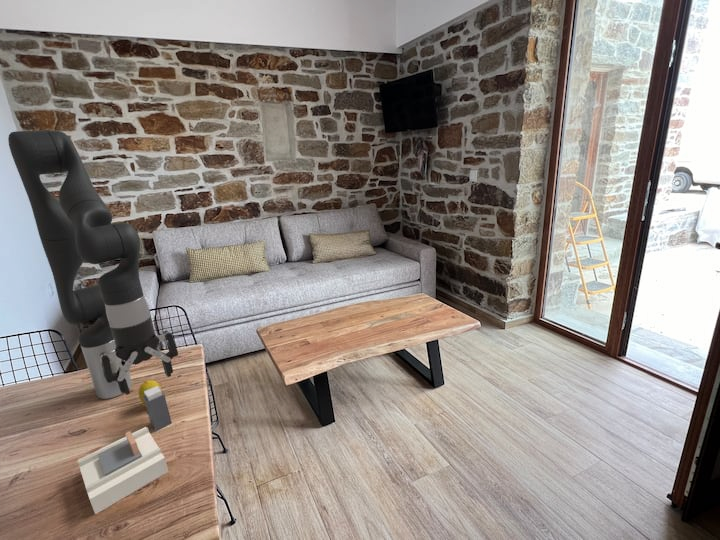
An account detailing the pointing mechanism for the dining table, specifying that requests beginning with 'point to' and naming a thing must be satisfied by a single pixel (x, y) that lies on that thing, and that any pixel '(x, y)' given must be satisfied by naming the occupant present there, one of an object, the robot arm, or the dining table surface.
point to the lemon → (146, 388)
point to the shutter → (120, 455)
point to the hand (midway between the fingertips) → (148, 383)
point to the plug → (157, 408)
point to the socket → (122, 471)
